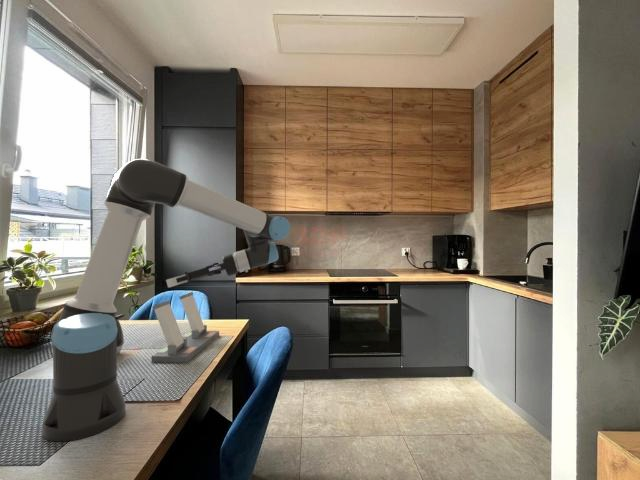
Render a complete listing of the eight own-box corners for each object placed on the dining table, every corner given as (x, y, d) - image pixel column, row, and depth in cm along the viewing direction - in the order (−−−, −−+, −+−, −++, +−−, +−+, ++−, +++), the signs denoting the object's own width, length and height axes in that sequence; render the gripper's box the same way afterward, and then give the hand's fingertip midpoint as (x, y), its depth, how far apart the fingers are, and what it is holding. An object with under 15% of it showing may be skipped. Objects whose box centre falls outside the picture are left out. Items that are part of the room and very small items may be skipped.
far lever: (206, 330, 134) (192, 291, 134) (200, 335, 128) (185, 294, 128) (200, 333, 134) (186, 294, 134) (193, 337, 128) (179, 296, 128)
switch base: (219, 335, 137) (219, 324, 137) (186, 362, 107) (186, 347, 107) (191, 335, 137) (191, 323, 137) (151, 362, 107) (151, 347, 107)
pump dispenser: (121, 358, 111) (121, 314, 111) (85, 362, 107) (85, 317, 107) (127, 348, 120) (127, 308, 120) (94, 352, 116) (94, 311, 116)
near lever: (186, 345, 116) (169, 300, 116) (177, 350, 110) (159, 303, 110) (179, 347, 116) (162, 303, 116) (170, 353, 110) (152, 306, 110)
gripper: (238, 272, 108) (165, 294, 102) (239, 273, 121) (174, 293, 115) (231, 251, 109) (159, 272, 103) (233, 254, 121) (168, 273, 115)
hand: (167, 283), depth 109 cm, fingers closed
